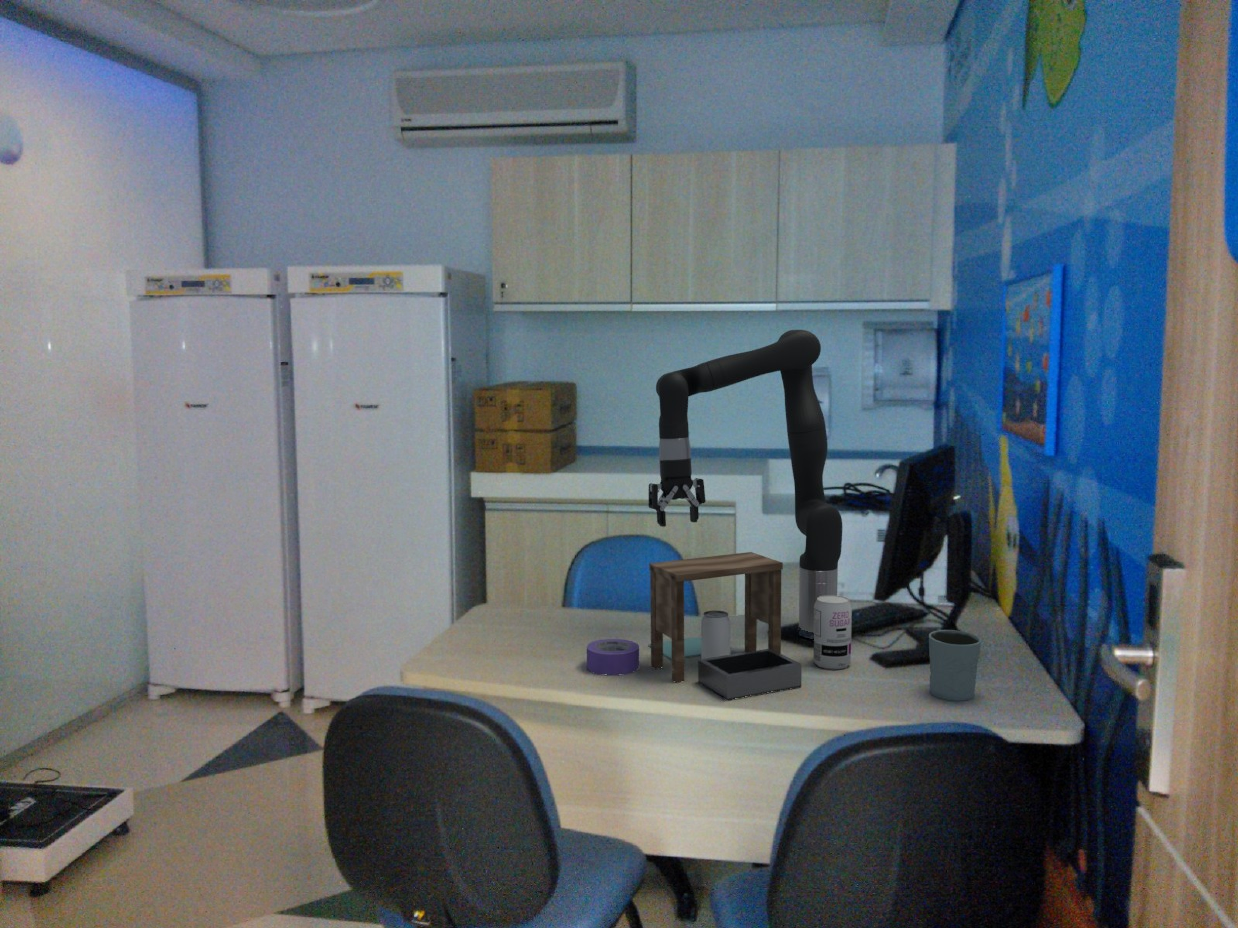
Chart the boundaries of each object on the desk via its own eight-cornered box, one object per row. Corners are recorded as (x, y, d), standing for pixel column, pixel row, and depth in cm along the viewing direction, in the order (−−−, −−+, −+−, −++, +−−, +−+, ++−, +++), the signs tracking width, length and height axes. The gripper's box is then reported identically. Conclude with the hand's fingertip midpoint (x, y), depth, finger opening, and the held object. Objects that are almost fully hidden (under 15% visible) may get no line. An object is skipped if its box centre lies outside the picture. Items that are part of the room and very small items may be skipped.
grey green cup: (935, 682, 207) (937, 627, 206) (985, 691, 202) (987, 634, 200) (920, 696, 199) (922, 639, 198) (971, 706, 193) (973, 647, 192)
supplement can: (826, 656, 225) (827, 592, 224) (857, 664, 220) (859, 599, 218) (806, 664, 220) (806, 599, 218) (837, 673, 214) (838, 606, 212)
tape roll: (639, 659, 225) (639, 638, 225) (639, 676, 214) (638, 653, 213) (588, 659, 226) (588, 638, 225) (585, 676, 214) (584, 654, 214)
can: (711, 672, 215) (711, 619, 214) (695, 664, 221) (695, 612, 220) (736, 667, 218) (736, 615, 217) (720, 659, 224) (720, 608, 223)
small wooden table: (650, 665, 220) (649, 563, 217) (750, 649, 231) (751, 552, 228) (677, 683, 208) (676, 575, 206) (781, 665, 219) (782, 562, 216)
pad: (648, 646, 235) (648, 644, 235) (699, 638, 241) (699, 636, 241) (671, 660, 224) (671, 658, 224) (724, 651, 230) (724, 650, 230)
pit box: (698, 682, 209) (698, 660, 208) (769, 670, 216) (769, 648, 215) (727, 700, 198) (727, 676, 197) (801, 687, 205) (801, 664, 205)
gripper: (693, 453, 239) (696, 519, 241) (641, 458, 233) (644, 525, 235) (709, 455, 233) (711, 522, 234) (655, 460, 226) (659, 529, 228)
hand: (678, 524), depth 234 cm, fingers open, 8 cm apart
